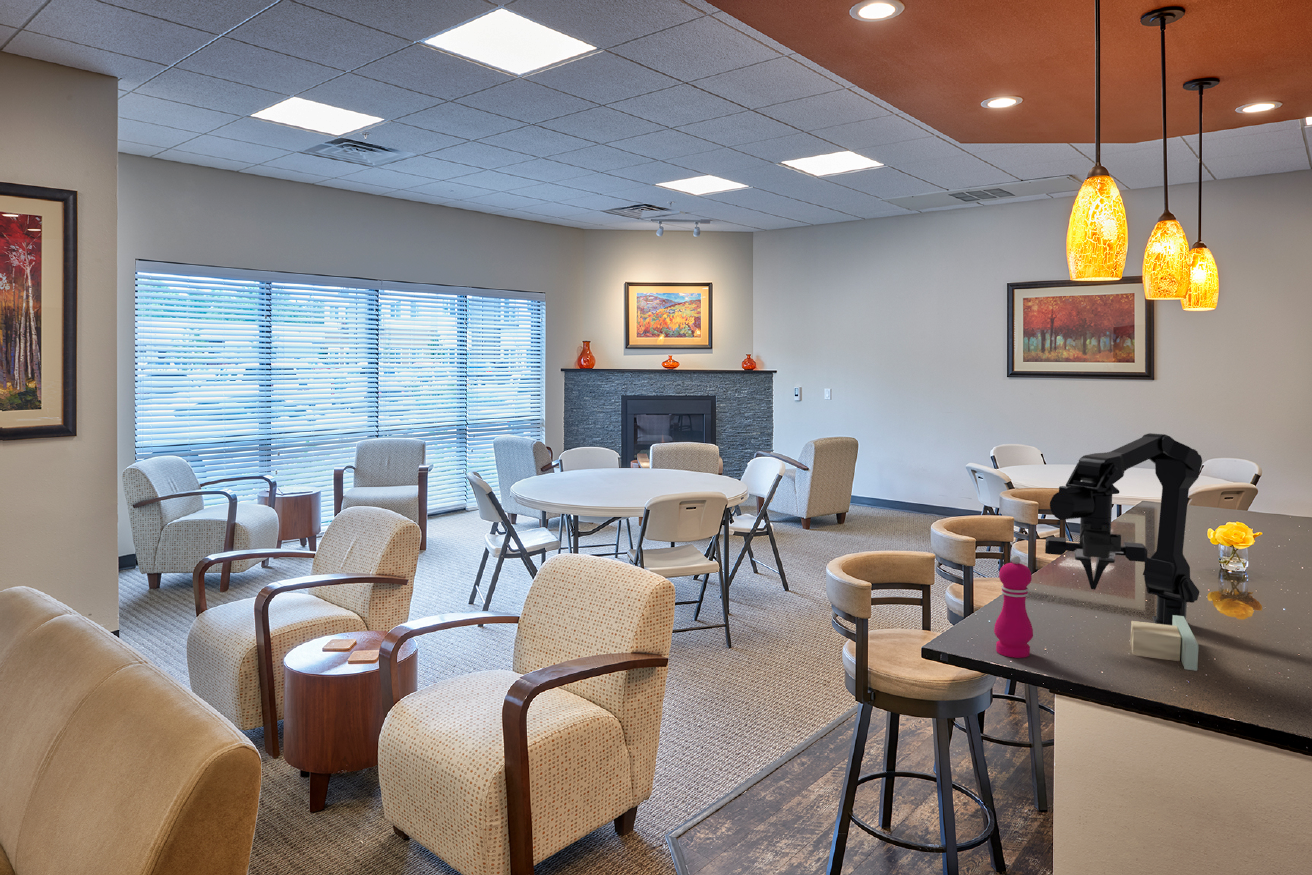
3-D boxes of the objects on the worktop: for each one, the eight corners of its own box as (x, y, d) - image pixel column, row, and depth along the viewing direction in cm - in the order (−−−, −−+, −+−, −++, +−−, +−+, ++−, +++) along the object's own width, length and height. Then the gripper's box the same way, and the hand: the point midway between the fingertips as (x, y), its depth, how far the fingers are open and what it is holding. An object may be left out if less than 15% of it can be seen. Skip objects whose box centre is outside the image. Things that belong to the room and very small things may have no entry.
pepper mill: (1002, 644, 172) (1005, 549, 170) (1038, 652, 167) (1041, 555, 165) (987, 652, 167) (990, 555, 165) (1023, 661, 162) (1027, 561, 160)
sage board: (1171, 637, 175) (1172, 614, 175) (1182, 639, 174) (1183, 616, 174) (1184, 668, 157) (1186, 643, 157) (1197, 670, 156) (1198, 644, 156)
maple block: (1130, 643, 172) (1131, 620, 172) (1175, 649, 169) (1176, 625, 168) (1132, 655, 165) (1133, 631, 165) (1179, 662, 162) (1180, 637, 161)
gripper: (1046, 519, 169) (1043, 593, 170) (1151, 526, 161) (1148, 604, 162) (1046, 510, 179) (1044, 580, 180) (1146, 516, 171) (1142, 590, 172)
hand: (1093, 589), depth 174 cm, fingers closed
